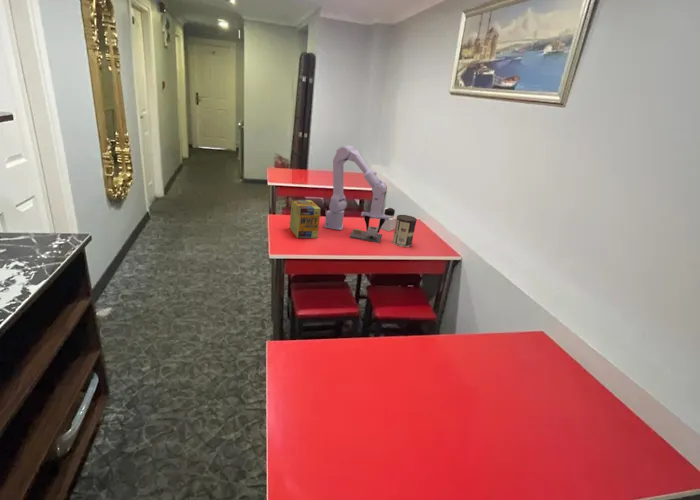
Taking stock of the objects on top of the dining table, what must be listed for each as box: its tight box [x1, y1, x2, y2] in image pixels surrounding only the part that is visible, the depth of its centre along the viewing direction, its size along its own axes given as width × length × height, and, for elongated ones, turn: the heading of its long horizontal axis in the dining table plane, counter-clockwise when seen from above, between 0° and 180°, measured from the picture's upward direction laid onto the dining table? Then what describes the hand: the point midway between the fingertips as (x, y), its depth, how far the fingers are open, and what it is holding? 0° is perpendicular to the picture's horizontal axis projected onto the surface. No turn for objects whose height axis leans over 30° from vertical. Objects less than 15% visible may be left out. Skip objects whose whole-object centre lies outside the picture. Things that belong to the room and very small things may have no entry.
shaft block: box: [349, 228, 383, 244], centre depth 201 cm, size 16×12×4 cm
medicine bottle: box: [378, 207, 397, 232], centre depth 217 cm, size 7×7×12 cm
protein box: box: [289, 199, 321, 239], centre depth 192 cm, size 10×15×16 cm
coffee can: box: [391, 214, 418, 248], centre depth 197 cm, size 10×10×14 cm
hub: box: [366, 225, 379, 237], centre depth 200 cm, size 5×5×4 cm
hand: (372, 231), depth 200 cm, fingers closed on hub, 5 cm apart
